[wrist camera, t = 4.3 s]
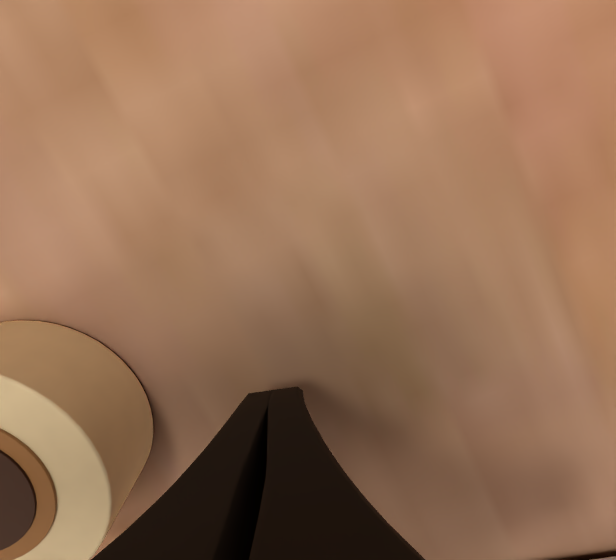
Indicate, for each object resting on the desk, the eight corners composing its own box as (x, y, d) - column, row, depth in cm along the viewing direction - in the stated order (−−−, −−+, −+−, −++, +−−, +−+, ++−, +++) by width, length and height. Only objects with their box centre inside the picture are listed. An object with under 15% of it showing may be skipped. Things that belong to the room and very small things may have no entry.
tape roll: (123, 304, 10) (59, 346, 7) (175, 494, 11) (139, 586, 9) (-109, 336, 10) (-259, 390, 7) (-24, 522, 11) (-122, 623, 9)
